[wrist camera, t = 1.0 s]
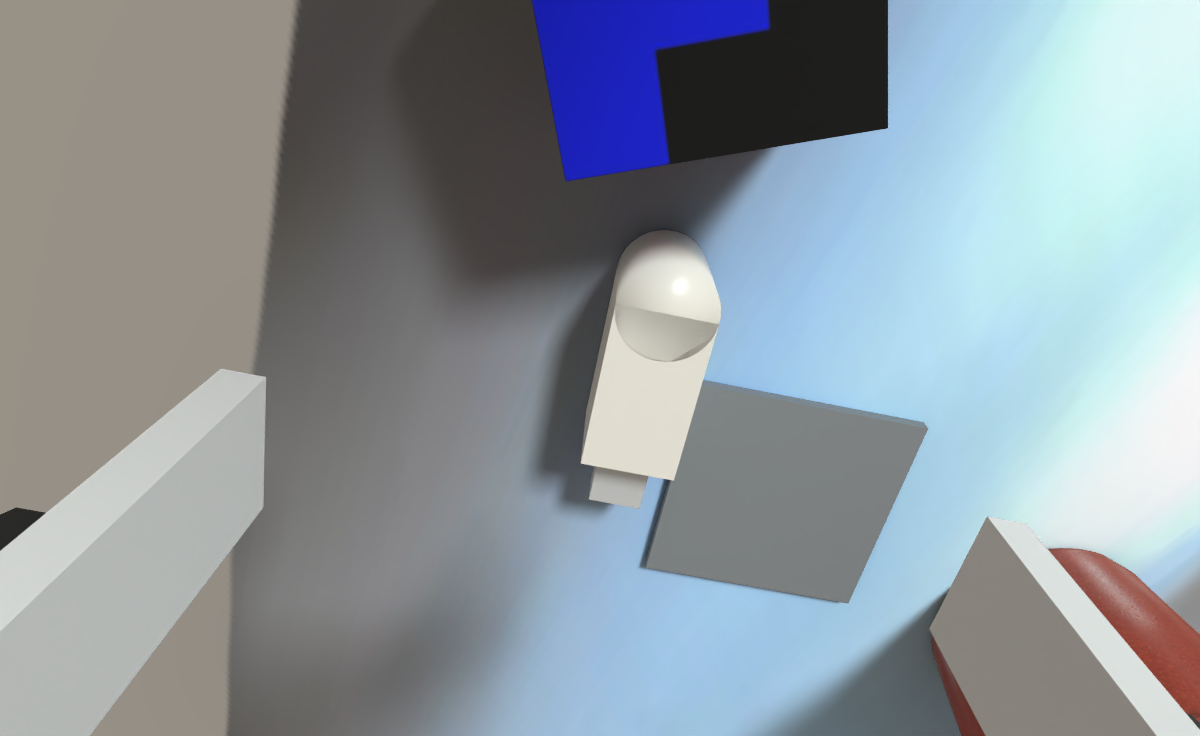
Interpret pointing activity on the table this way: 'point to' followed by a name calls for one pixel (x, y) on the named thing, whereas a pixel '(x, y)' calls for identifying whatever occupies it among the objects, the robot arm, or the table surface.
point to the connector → (649, 365)
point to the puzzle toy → (708, 77)
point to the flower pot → (1146, 623)
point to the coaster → (781, 492)
